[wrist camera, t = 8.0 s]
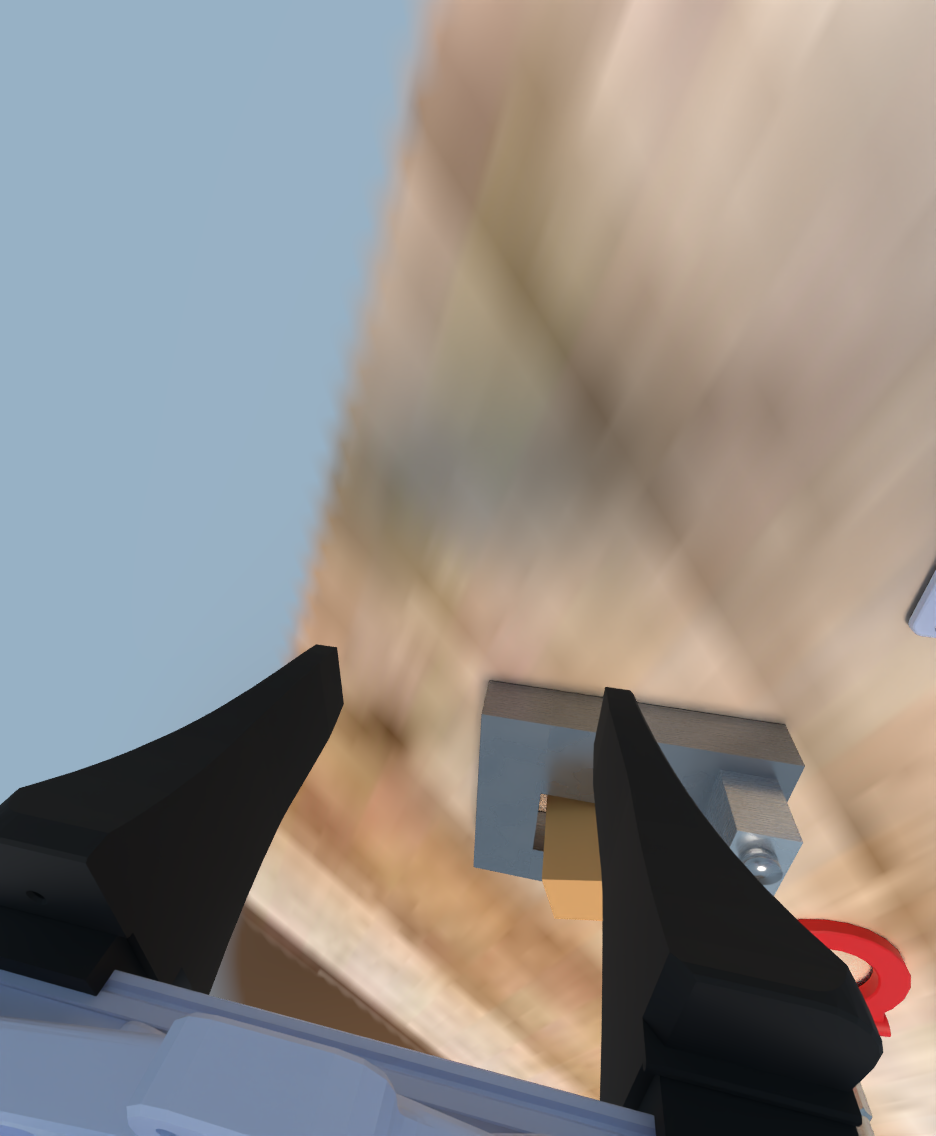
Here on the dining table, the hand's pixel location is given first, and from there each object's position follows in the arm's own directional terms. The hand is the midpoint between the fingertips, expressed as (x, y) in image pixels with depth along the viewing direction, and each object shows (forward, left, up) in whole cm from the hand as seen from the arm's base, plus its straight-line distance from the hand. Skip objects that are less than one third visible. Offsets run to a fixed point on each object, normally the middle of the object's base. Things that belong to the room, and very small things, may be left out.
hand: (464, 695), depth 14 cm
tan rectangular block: (-5, +15, -10) cm, 19 cm away
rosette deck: (-7, +14, -10) cm, 18 cm away
